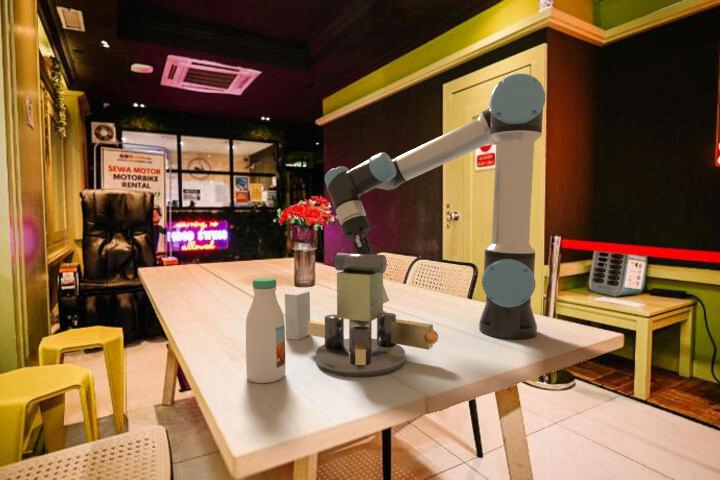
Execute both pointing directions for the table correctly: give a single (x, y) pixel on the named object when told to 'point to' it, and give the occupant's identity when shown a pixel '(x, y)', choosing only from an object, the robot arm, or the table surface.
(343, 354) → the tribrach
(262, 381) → the milk bottle
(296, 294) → the skincare box
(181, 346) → the table surface
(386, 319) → the knob lever
